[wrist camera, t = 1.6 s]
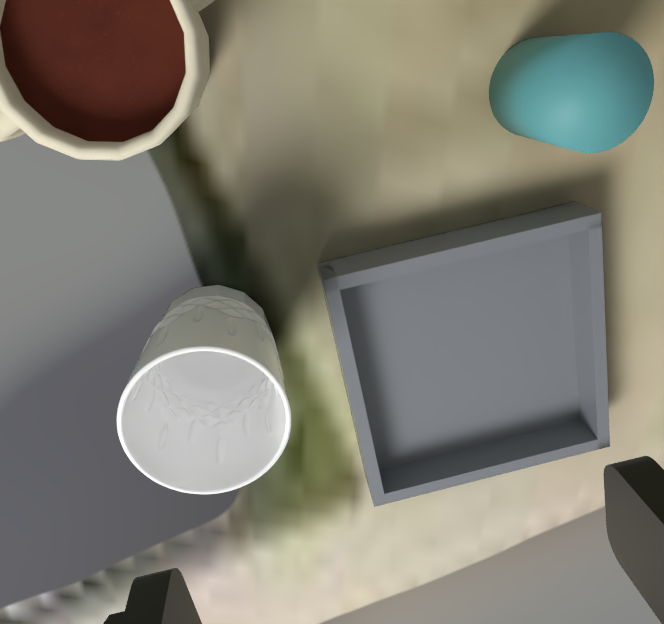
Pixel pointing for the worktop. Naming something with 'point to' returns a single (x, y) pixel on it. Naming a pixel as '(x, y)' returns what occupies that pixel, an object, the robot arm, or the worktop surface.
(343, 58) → the worktop surface
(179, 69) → the character mug
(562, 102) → the teal capsule
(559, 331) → the tray
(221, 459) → the white cup
